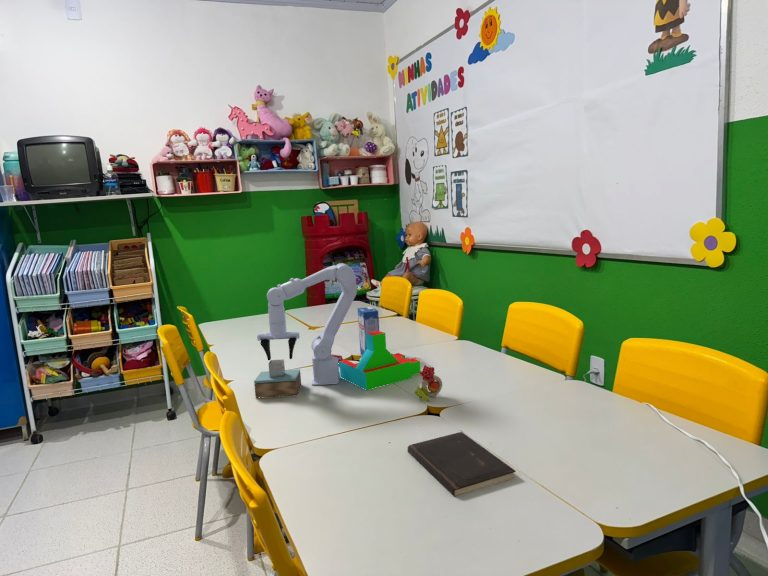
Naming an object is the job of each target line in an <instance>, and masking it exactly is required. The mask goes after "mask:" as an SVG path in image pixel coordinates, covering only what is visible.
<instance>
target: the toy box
mask: <svg viewBox="0 0 768 576" xmlns="http://www.w3.org/2000/svg"><path fill="white" fill-rule="evenodd" d="M301 377H302V376H301V372H300V373H299V375H298V377H297V379H296V381H284V382H268V383H254V385H253V386H254V396H255V399H263V398H262V397H270V398H281V397H282V396H286V397H297V396H298V395H299V392H300V389H301V387H302V378H301ZM298 391H299V392H298ZM279 396H280V397H279ZM259 397H260V398H259Z"/></svg>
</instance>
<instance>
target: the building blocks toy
mask: <svg viewBox="0 0 768 576" xmlns="http://www.w3.org/2000/svg"><path fill="white" fill-rule="evenodd" d="M366 346H367V349H366V351H365V353H364V354H363V356H362V355H361V358H360V360H359V361H358V362H357V363H354V362H352V361H349V360H347V359H343V360H341V361H339V372H340V377H339V378H341V377H342V378H341V379H343V378H344V379H343V380H345V379H346V380H345V381H347V380H348V381H347V382H349V381H350V382H349V383H351V382H352V383H351V384H353V383H354V384H353V385H355V384H356V385H355V386H357V385H358V386H357V387H359V386H360V387H362V388H364V389H366V390H368V391H370V390H369V389H371V390H373V389H372V388H375V387H378V388H380V387H379V386H382V387H384V386H383V385H385V386H388V385H387V384H389V385H392V384H395V383H400V382H402V381H406V380H409V379H412V376H414V375H418V374H420V372H421V371H422V370H421V360H419V359H416V358H414V357H411V358H408V359H406V355H405V354H402V353H399V352H398V353H397V352H396V353H393V354H392V353H391V352H390V351H389V350H388V349H387V340H386V332H384V331H381V330H379V331H374V332H369V333H366ZM360 387H359V388H360ZM362 388H361V389H362ZM364 389H363V390H364ZM375 389H376V388H375ZM366 390H365V391H366Z"/></svg>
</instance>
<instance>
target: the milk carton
mask: <svg viewBox="0 0 768 576" xmlns="http://www.w3.org/2000/svg"><path fill="white" fill-rule="evenodd" d="M357 320H358V321H357V323H358V337H359V350H360V351H359V352H360V355H361V357H362V356H363V354H364V353H365V351H366V349H367V346H366V333H369V332H374V331H380V319H379V310H378V309H376V308H374V307H373V306H367V307H359V308H357Z"/></svg>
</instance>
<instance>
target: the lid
mask: <svg viewBox="0 0 768 576" xmlns="http://www.w3.org/2000/svg"><path fill="white" fill-rule="evenodd" d="M299 373H300V374H301V369H300V368H299V369H285V374H284V376H283V377H274V378H270V375H269V370H268V371H260V373H258V375H257V377H255V379H254V381H253V383H254V384H255V383H268V382H284V381H296V379H297V377H298V375H299Z"/></svg>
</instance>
